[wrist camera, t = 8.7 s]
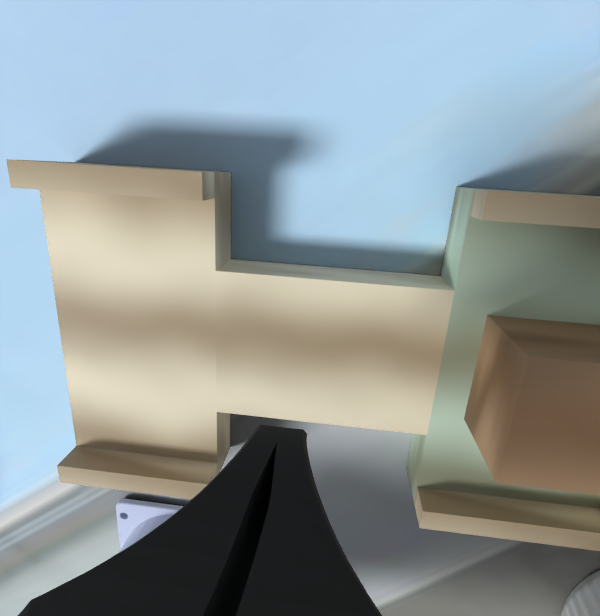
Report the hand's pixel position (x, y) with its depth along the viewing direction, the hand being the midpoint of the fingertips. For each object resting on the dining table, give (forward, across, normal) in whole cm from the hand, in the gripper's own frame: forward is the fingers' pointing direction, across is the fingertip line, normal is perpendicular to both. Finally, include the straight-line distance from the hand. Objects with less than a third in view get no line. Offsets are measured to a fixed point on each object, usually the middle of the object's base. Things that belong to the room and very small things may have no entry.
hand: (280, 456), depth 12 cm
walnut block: (+7, -10, 0) cm, 12 cm away
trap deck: (+9, -2, 0) cm, 10 cm away
